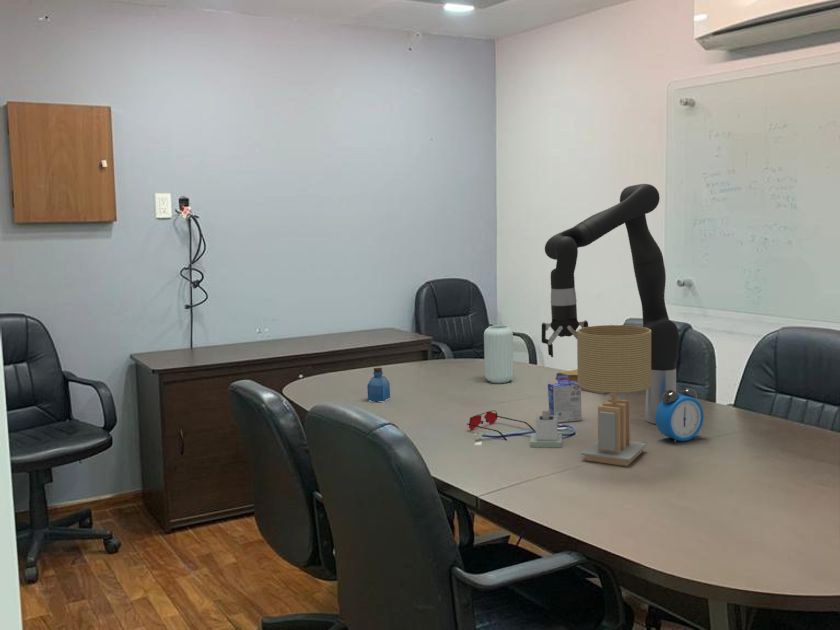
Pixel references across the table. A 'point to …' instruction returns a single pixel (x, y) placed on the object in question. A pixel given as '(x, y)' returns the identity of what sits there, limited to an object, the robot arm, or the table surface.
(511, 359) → the vase
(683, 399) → the alarm clock
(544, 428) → the grey hollow cube
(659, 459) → the table surface
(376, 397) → the perfume bottle
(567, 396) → the ink cartridge box
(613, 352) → the desk lamp
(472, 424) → the glasses
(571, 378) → the book
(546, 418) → the shaft block
